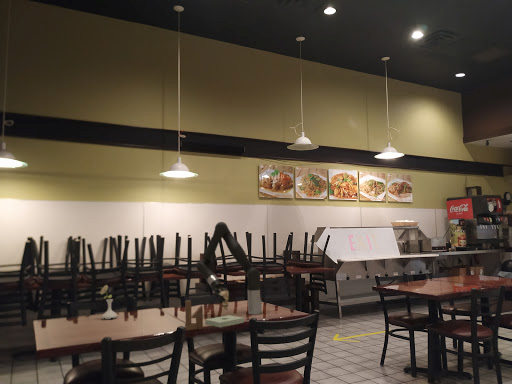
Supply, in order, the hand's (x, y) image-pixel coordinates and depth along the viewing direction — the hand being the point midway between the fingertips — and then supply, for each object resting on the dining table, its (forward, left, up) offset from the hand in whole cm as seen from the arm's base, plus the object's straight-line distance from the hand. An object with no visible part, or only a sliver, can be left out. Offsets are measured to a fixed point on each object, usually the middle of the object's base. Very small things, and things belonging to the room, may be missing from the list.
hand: (227, 300), depth 298 cm
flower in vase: (+58, -70, -13) cm, 91 cm away
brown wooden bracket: (+35, +11, -13) cm, 39 cm away
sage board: (+11, +11, -13) cm, 20 cm away
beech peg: (0, -2, -7) cm, 7 cm away
